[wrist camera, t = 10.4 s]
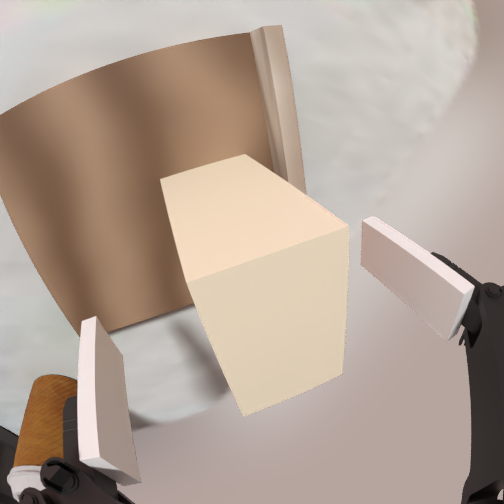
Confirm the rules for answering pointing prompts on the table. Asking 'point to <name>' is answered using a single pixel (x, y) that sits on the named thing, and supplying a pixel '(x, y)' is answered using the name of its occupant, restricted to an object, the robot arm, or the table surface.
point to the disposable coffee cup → (40, 431)
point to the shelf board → (138, 165)
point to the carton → (262, 277)
